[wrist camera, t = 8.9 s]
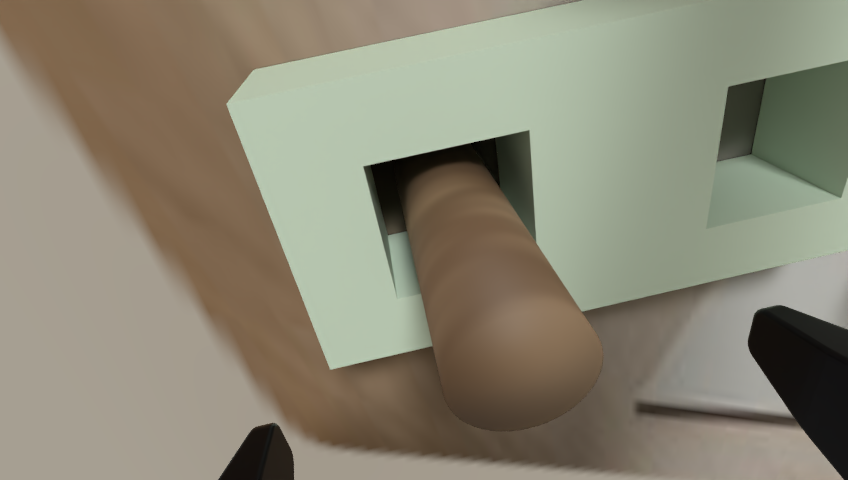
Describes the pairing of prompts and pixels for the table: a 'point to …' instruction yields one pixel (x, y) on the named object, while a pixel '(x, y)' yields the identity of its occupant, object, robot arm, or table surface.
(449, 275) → the peg
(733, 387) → the table surface
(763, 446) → the table surface
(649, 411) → the table surface
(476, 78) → the hole block
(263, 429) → the robot arm
